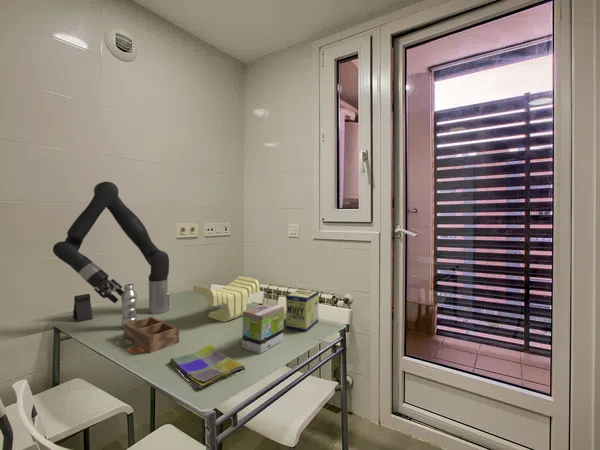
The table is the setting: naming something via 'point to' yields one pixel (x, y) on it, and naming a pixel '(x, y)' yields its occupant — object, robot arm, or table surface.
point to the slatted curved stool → (230, 297)
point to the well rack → (149, 335)
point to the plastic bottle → (128, 304)
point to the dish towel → (206, 366)
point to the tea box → (262, 327)
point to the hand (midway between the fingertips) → (121, 299)
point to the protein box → (302, 309)
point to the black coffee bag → (82, 308)
